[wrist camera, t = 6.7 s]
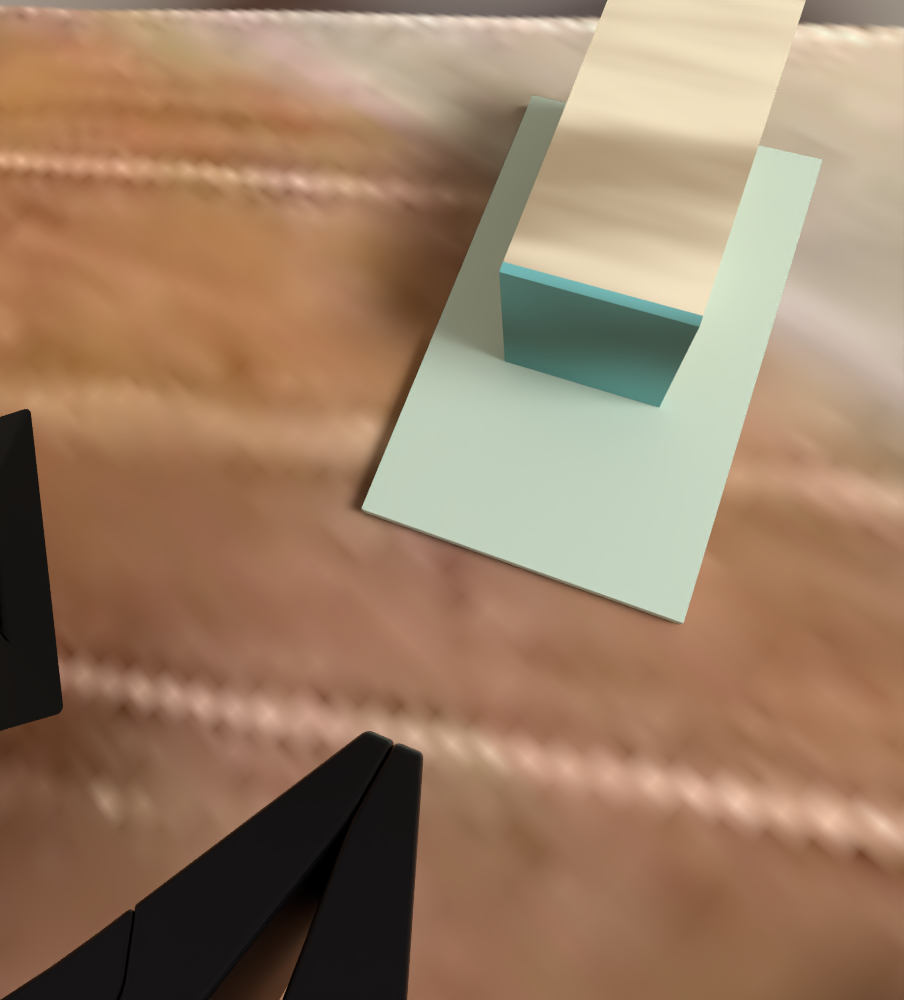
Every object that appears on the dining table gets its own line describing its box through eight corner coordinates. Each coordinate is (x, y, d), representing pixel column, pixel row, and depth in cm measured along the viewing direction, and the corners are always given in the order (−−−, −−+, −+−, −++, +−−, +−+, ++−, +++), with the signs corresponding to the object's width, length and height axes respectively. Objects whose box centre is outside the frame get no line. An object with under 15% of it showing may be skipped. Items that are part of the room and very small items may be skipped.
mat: (679, 624, 20) (683, 622, 19) (365, 512, 22) (361, 508, 21) (816, 170, 23) (822, 159, 22) (532, 106, 25) (532, 95, 24)
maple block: (699, 326, 16) (805, 0, 18) (499, 271, 17) (621, -34, 19) (659, 407, 21) (746, 142, 23) (504, 361, 22) (601, 110, 24)
